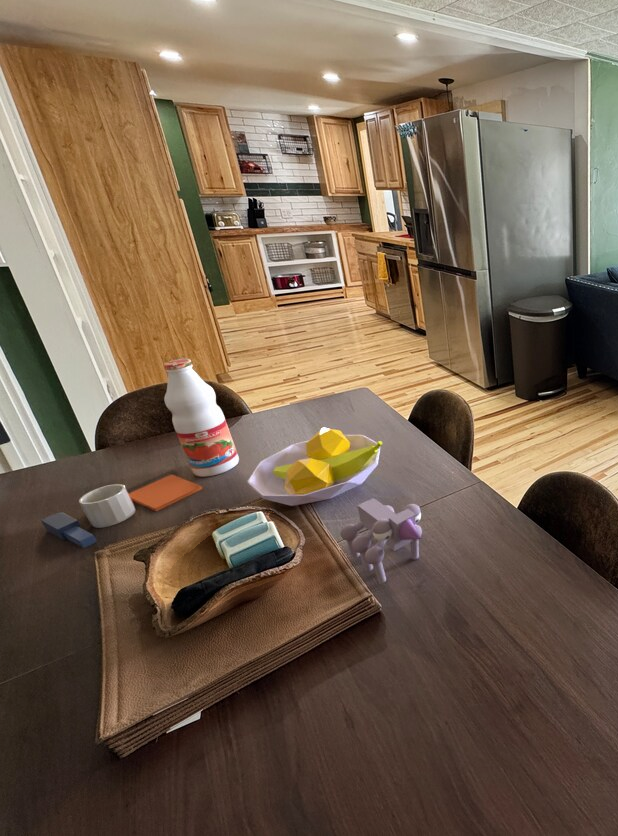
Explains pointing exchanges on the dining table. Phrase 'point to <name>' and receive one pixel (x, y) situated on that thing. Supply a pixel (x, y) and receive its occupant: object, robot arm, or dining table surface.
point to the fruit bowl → (316, 468)
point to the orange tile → (164, 492)
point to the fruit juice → (198, 421)
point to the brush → (68, 529)
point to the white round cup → (107, 505)
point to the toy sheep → (382, 533)
